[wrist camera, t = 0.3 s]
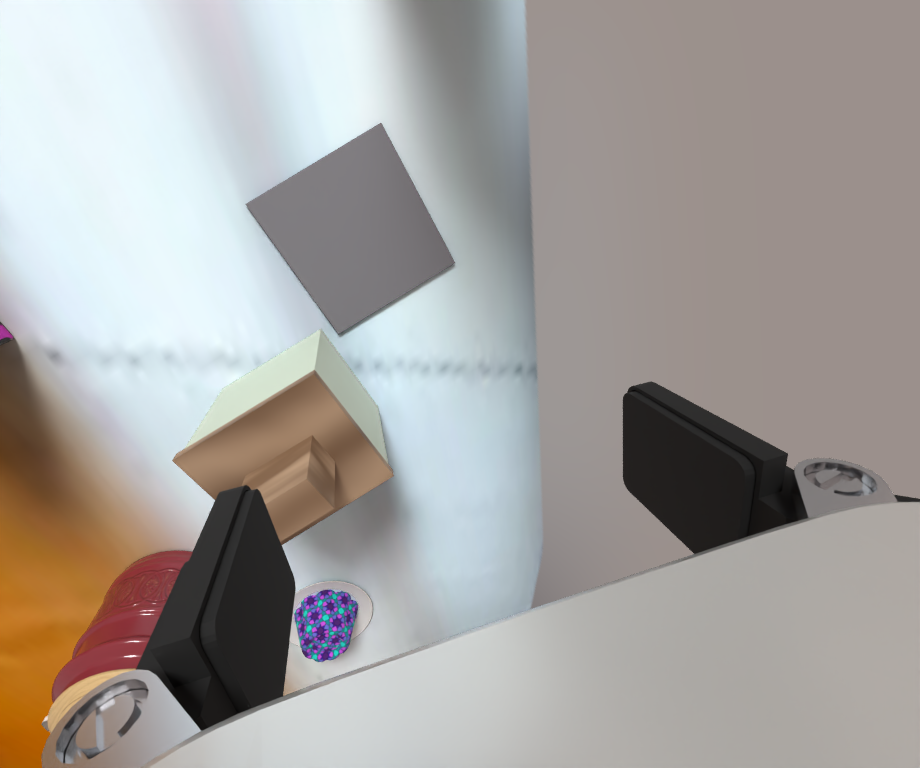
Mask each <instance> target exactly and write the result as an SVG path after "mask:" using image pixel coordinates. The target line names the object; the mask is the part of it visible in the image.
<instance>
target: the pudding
mask: <svg viewBox="0 0 920 768" xmlns="http://www.w3.org/2000/svg"><path fill="white" fill-rule="evenodd" d="M327 589H337V590H342V591H341V592H337V593H335V592H334V591H332V590H327ZM321 590H323V591H321ZM318 591H320V592H319V593H318V594H317V595H315V596H309V595H310V594H313V593H315V592H318ZM343 591H345V592H343ZM348 593H349V594H351V595H352V596H353V597H354V598H355V599H356V600H357V602H358V604H357V602H356V601H353V600H351V597H350V595H349V594H348ZM307 596H308V597H307ZM303 599H304V600H303ZM302 600H303V601H302ZM301 601H302V602H301ZM300 602H301V607H300V608H298V609H297V610H296V611H295V609H296V607H297V605H298V604H299V603H300ZM358 605H359V613H358V616H357V618H356V614H357V610H358ZM294 612H295V613H294ZM372 612H373V607H372V602H371V599H370V598H369V596H368V595H367V593H366V592H365V591H363V590H362V589H361V588H359V587H357V586H356V585H353V584H350V583H346V582H342V581H326V582H320V583H316V584H313V585H310V586H307V587H305V588H303V589H301V590H299V591H298V592H296V593H295V598H294V607H293V615H292V624H291V632H290V640H289V641H290V642H291V643H293V644H295V645H297V646H300V647H301V648H302V652H303V654H304V655H305V657H307V658H308V659H314V660H315V661H317V662H323V661H325V660H333V659H335V658H337V657H338V656H339V654H342V653H344V652H345V651H346V650H347V648H348V646H349V644H350V641H351V640H352V639H354V638H355V637H357V636H358V635H359V634H360V633H361V632H363V630H364V629H365V628H366V627H367V625H368V624H369V622H370V620H371V617H372ZM294 616H295V622H296V624H295V622H294ZM355 619H356V620H355Z"/></svg>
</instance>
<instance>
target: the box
mask: <svg viewBox="0 0 920 768" xmlns="http://www.w3.org/2000/svg"><path fill="white" fill-rule="evenodd" d="M313 370H315V371H316V372H317V373H318V375H319V376H320V377H321V378H322V380H323V381H324V382H325V384H326V385H327V386H328V387H329V389H330V390H331V391H332V392H333V394H334V395H335V396H336V398H337V399H338V400H339V401H340V403H341V404H342V405H343V407H344V408H345V409H346V410H347V412H348V413H349V414H350V416H351V417H352V418H353V419H354V421H355V422H356V423H357V425H358V426H359V427H360V428H361V430H362V431H363V432H364V434H365V435H366V436H367V437H368V439H369V440H370V441H371V443H372V444H373V445H374V446H375V448H376V449H377V450H378V452H379V453H380V454H381V455H382V457H383V458H384V459H385V461H386V462H387V463H388V459H387V454H386V448H385V443H384V438H383V432H382V427H381V421H380V416H379V410H378V406H377V405H376V403H375V402H374V401H373V399H372V398H371V396H370V395H369V394H368V392H367V391H366V390H365V388H364V387H363V386H362V384H361V383H360V381H359V380H358V379H357V377H356V376H355V375H354V373H353V372H352V371H351V369H350V368H349V366H348V365H347V364H346V362H345V361H344V360H343V358H342V357H341V356H340V354H339V353H338V351H337V350H336V349H335V347H334V346H333V345H332V343H331V342H330V340H329V339H328V338H327V336H326V335H325V334H324V332H323V331H322V330H321V329H320V330H318V331H316V332H315V333H313V334H311V335H310V336H308V337H307V338H305V339H303V340H302V341H300V342H298V343H297V344H295V345H293V346H292V347H290V348H288V349H287V350H285V351H284V352H282V353H280V354H279V355H277V356H275V357H274V358H272V359H270V360H269V361H267V362H265V363H264V364H262V365H261V366H259V367H257V368H256V369H254V370H252V371H251V372H249V373H247V374H246V375H244V376H242V377H241V378H239V379H238V380H236V381H234V382H233V383H231V384H229V385H228V386H226V387H224V388H223V389H222V391H221V392H220V394H219V395H218V397H217V398H216V400H215V402H214V403H213V405H212V406H211V408H210V409H209V411H208V413H207V414H206V416H205V417H204V419H203V420H202V422H201V424H200V425H199V427H198V428H197V430H196V431H195V433H194V435H193V436H192V438H191V439H190V441H189V442H188V444H187V446H186V447H185V448H187V447H188V446H190V445H192V444H193V443H195V442H197V441H198V440H200V439H202V438H203V437H205V436H206V435H208V434H210V433H211V432H213V431H215V430H216V429H218V428H220V427H221V426H223V425H225V424H226V423H228V422H229V421H231V420H233V419H234V418H236V417H238V416H239V415H241V414H243V413H244V412H246V411H247V410H249V409H251V408H252V407H254V406H256V405H257V404H259V403H261V402H262V401H264V400H265V399H267V398H269V397H270V396H272V395H274V394H275V393H277V392H279V391H280V390H282V389H284V388H285V387H287V386H288V385H290V384H292V383H293V382H295V381H297V380H298V379H300V378H302V377H303V376H305V375H306V374H308V373H310V372H311V371H313Z"/></svg>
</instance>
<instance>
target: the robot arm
mask: <svg viewBox="0 0 920 768" xmlns="http://www.w3.org/2000/svg"><path fill="white" fill-rule="evenodd" d="M787 456H788V454H787V453H786V452H784V451H782V450H780V449H778V448H776V447H774V446H772V445H770V444H769V443H767V442H765V441H763V440H761V439H759V438H757V437H755V436H754V435H752V434H750V433H748V432H746V431H744V430H742V429H741V428H739V427H737V426H735V425H733V424H731V423H729V422H727V421H726V420H724V419H722V418H720V417H718V416H716V415H714V414H712V413H710V412H709V411H707V410H705V409H703V408H701V407H699V406H697V405H695V404H694V403H692V402H690V401H688V400H686V399H684V398H682V397H681V396H678V395H677V394H675V393H673V392H671V391H669V390H667V389H666V388H664V387H662V386H660V385H658V384H656V383H654V382H647V383H643V384H639V385H636V386H632V387H630V388H629V389H628V392H627V393H626V394H625V395H624V397H623V480H624V484H625V486H626V487H627V489H628V491H629V492H630V493H632V495H633V496H635V497H636V498H637V499H638V500H639V501H640V502H641V503H642V504H643V505H644V506H645V507H646V508H647V509H648V510H649V511H650V512H651V513H652V514H653V515H655V516H656V517H657V518H658V519H659V520H660V521H661V522H662V523H663V524H664V525H665V526H666V527H667V528H668V529H669V530H670V531H671V532H672V533H673V534H674V535H675V536H676V537H677V538H678V539H680V540H681V541H682V542H683V543H684V544H685V545H686V546H687V547H688V548H689V549H690V550H691V551H692V552H693V553H694V554H693V555H691V556H687V557H684V558H681V559H678V560H675V561H672V562H669V563H666V564H663V565H660V566H658V567H655V568H651V569H648V570H645V571H643V572H639V573H636V574H633V575H630V576H627V577H624V578H621V579H618V580H616V581H613V582H610V583H607V584H604V585H601V586H598V587H595V588H592V589H589V590H586V591H583V592H580V593H577V594H574V595H571V596H568V597H565V598H563V599H560V600H557V601H554V602H551V603H548V604H545V605H542V606H539V607H536V608H533V609H530V610H527V611H524V612H521V613H518V614H515V615H512V616H509V617H506V618H504V619H501V620H498V621H495V622H492V623H489V624H486V625H483V626H480V627H477V628H474V629H472V630H469V631H466V632H463V633H460V634H457V635H454V636H451V637H448V638H446V639H443V640H440V641H437V642H434V643H431V644H428V645H425V646H422V647H420V648H417V649H414V650H411V651H408V652H405V653H402V654H399V655H396V656H394V657H391V658H388V659H385V660H382V661H379V662H376V663H373V664H370V665H368V666H365V667H362V668H359V669H356V670H353V671H351V672H348V673H345V674H342V675H339V676H336V677H333V678H331V679H328V680H325V681H322V682H319V683H316V684H314V685H311V686H308V687H306V688H303V689H301V690H298V691H295V692H293V693H290V694H288V695H285V696H283V691H284V682H285V674H286V665H287V657H288V649H289V640H290V632H291V624H292V615H293V607H294V598H295V580H294V576H293V573H292V571H291V568H290V566H289V563H288V561H287V558H286V556H285V553H284V550H283V548H282V545H281V543H280V540H279V538H278V535H277V533H276V530H275V528H274V525H273V523H272V520H271V518H270V515H269V512H268V510H267V507H266V505H265V502H264V500H263V497H262V495H261V493H260V491H259V490H258V489H254V490H251V489H250V487H249V486H247V485H244V486H241V487H237V488H233V489H229V490H225V491H221V492H219V494H218V495H217V498H216V500H215V502H214V505H213V507H212V509H211V511H210V514H209V516H208V518H207V521H206V523H205V525H204V527H203V530H202V532H201V534H200V537H199V539H198V541H197V543H196V546H195V548H194V550H193V553H192V555H191V557H190V559H189V560H188V561H187V562H185V563H184V565H183V566H182V568H181V570H180V572H179V574H178V577H177V579H176V581H175V583H174V586H173V588H172V590H171V592H170V594H169V597H168V599H167V601H166V603H165V606H164V608H163V610H162V612H161V614H160V617H159V619H158V621H157V623H156V626H155V628H154V630H153V632H152V634H151V637H150V639H149V641H148V643H147V646H146V648H145V650H144V652H143V654H142V657H141V659H140V661H139V663H138V666H137V668H136V670H133V671H129V672H125V673H121V674H119V675H117V676H115V677H113V678H111V679H109V680H106V681H105V682H103V683H102V684H100V685H99V686H97V687H96V688H94V689H93V690H91V691H90V692H88V693H87V694H86V695H85V696H84V697H82V698H81V699H80V700H79V701H78V702H77V703H76V704H74V705H73V706H72V707H71V708H70V709H69V711H68V712H67V713H66V714H65V715H64V716H63V717H62V719H61V720H60V721H59V722H58V723H57V725H56V726H55V728H54V729H53V731H52V733H51V734H50V736H49V737H48V739H47V741H46V744H45V747H44V750H43V753H42V768H920V499H917V498H910V497H904V496H898V495H894V494H893V493H892V491H891V490H890V488H889V486H888V484H887V483H886V482H885V481H884V480H883V479H882V477H880V476H879V475H877V474H876V473H874V472H873V471H871V470H869V469H867V468H864V467H862V466H860V465H857V464H854V463H851V462H847V461H843V460H837V459H831V458H813V459H807V460H804V461H802V462H799V463H798V464H797V465H796V466H795V468H794V470H793V469H791V468H789V467H787V466H786V462H787Z"/></svg>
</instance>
